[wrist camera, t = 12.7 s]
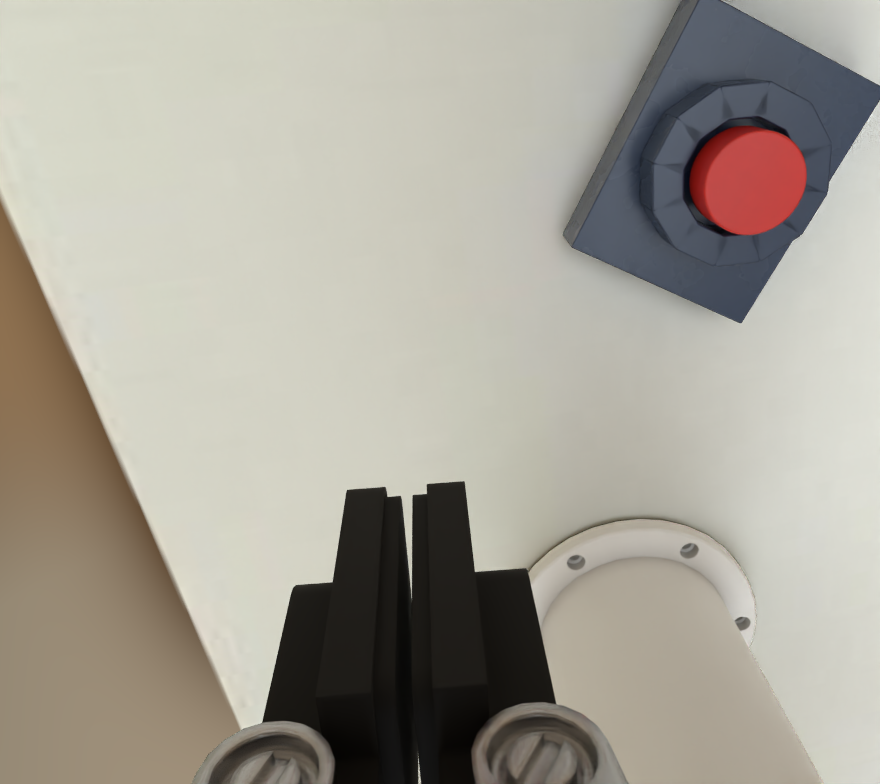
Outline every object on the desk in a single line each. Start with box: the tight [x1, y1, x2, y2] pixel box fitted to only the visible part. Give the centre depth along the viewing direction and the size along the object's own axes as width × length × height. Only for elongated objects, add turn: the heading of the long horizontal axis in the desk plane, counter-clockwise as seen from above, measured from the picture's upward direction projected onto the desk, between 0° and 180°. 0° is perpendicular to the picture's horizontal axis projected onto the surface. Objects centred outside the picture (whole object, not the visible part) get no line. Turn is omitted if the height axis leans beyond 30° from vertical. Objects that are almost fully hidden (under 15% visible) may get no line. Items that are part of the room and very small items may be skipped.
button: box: [689, 126, 807, 235], centre depth 29 cm, size 4×4×2 cm
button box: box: [563, 0, 880, 323], centre depth 31 cm, size 10×8×4 cm
